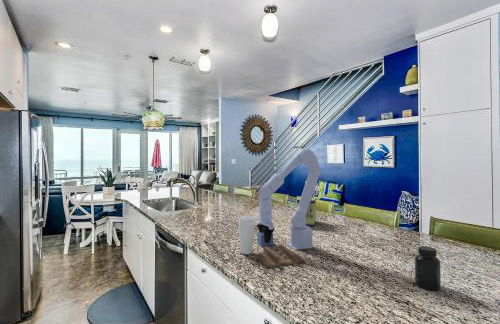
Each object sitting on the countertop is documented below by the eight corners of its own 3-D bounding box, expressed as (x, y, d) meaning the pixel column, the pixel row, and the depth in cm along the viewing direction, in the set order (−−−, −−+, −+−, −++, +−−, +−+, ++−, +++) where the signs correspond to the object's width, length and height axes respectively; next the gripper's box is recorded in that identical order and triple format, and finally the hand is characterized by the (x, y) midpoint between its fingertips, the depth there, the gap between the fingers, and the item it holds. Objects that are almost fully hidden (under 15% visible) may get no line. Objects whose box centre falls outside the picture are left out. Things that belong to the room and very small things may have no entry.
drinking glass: (240, 256, 109) (240, 219, 109) (236, 250, 116) (237, 216, 115) (256, 254, 111) (256, 218, 111) (252, 249, 117) (252, 215, 117)
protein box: (296, 225, 158) (296, 199, 158) (299, 220, 173) (299, 196, 173) (314, 227, 155) (314, 200, 155) (315, 221, 170) (316, 196, 170)
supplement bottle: (430, 280, 88) (430, 244, 88) (445, 291, 81) (446, 252, 81) (409, 281, 88) (410, 244, 88) (423, 291, 81) (424, 252, 81)
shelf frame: (289, 251, 115) (289, 243, 114) (304, 262, 103) (304, 253, 103) (254, 256, 109) (254, 247, 109) (266, 267, 98) (266, 258, 98)
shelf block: (269, 241, 128) (269, 231, 128) (273, 244, 124) (273, 234, 124) (257, 243, 126) (257, 232, 126) (261, 246, 122) (261, 235, 122)
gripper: (252, 209, 130) (251, 237, 130) (263, 215, 116) (263, 246, 117) (265, 208, 132) (265, 235, 133) (278, 214, 119) (277, 245, 119)
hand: (265, 240), depth 125 cm, fingers closed on shelf block, 4 cm apart
